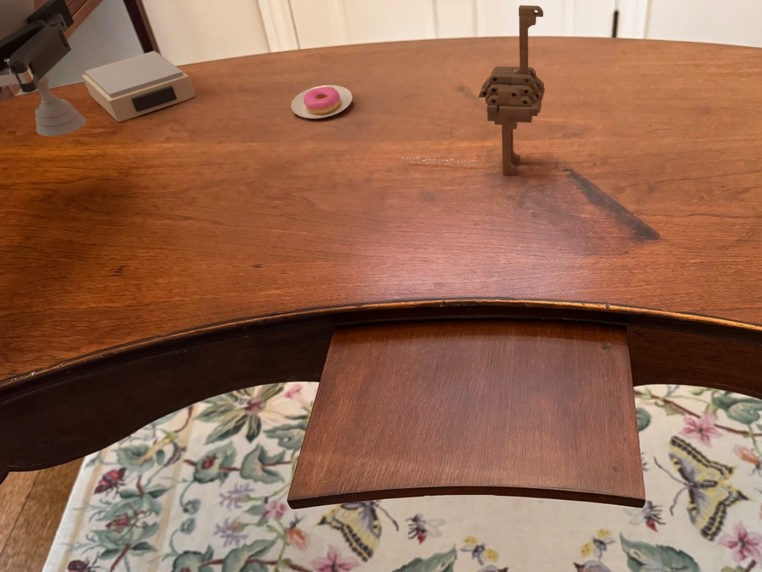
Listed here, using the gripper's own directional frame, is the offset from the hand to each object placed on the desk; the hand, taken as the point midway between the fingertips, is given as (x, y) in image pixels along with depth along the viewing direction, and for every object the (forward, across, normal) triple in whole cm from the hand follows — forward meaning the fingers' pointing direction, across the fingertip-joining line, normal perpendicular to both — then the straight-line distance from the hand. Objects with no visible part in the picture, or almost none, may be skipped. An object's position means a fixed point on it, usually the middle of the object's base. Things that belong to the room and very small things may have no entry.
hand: (37, 10), depth 74 cm
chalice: (-5, 0, -10) cm, 11 cm away
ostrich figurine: (-2, +44, -18) cm, 48 cm away
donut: (+16, +24, -18) cm, 34 cm away
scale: (+20, -3, -18) cm, 27 cm away
